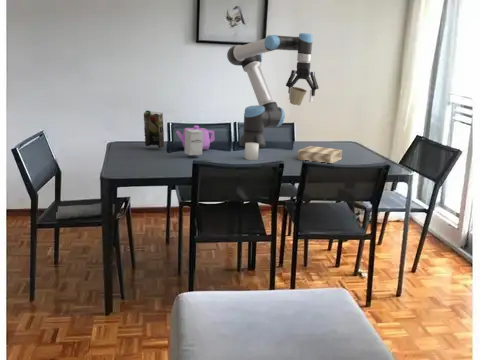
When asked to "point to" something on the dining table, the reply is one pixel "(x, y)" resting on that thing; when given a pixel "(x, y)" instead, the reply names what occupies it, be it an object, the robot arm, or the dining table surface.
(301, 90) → the flower pot
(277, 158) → the dining table surface
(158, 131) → the juice carton
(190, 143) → the supplement box
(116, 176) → the dining table surface
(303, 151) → the maple block
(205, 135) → the teakettle
